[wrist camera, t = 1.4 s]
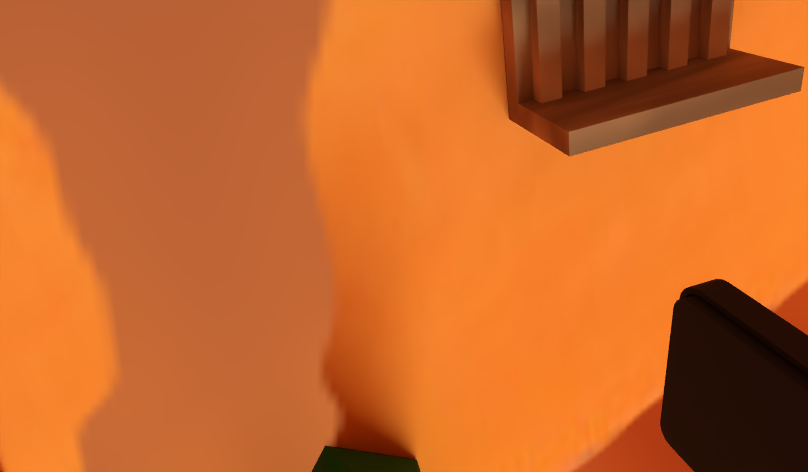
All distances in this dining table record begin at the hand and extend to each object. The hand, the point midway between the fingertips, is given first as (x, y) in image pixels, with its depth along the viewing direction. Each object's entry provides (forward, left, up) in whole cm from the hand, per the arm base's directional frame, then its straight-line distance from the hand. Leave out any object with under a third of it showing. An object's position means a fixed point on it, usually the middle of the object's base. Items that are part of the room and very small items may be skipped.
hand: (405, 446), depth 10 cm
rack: (-1, +20, -24) cm, 31 cm away
